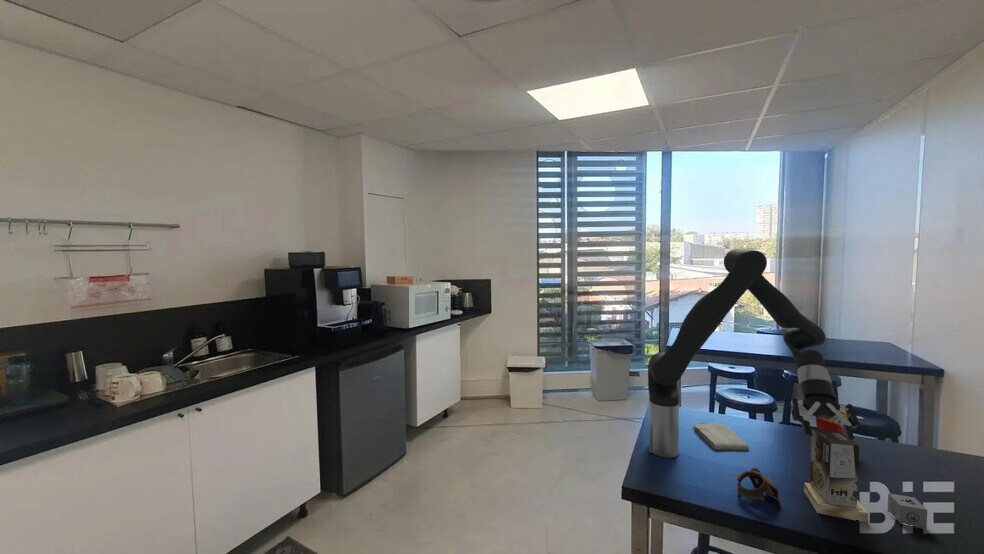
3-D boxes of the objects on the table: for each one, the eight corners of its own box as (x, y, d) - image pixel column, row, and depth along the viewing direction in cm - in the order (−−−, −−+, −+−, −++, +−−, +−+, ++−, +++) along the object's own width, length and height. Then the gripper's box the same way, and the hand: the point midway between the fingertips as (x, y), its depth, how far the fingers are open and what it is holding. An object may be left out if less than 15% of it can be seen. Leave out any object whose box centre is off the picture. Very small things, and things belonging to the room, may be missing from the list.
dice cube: (926, 529, 94) (927, 509, 94) (899, 524, 96) (900, 505, 95) (913, 516, 99) (914, 497, 98) (887, 511, 100) (888, 493, 100)
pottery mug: (789, 516, 100) (774, 490, 100) (749, 520, 105) (734, 496, 104) (776, 480, 111) (763, 456, 110) (740, 485, 115) (727, 463, 115)
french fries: (813, 444, 135) (814, 402, 134) (830, 441, 137) (832, 399, 136) (842, 457, 127) (844, 412, 126) (860, 453, 129) (862, 409, 128)
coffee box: (858, 508, 98) (861, 445, 97) (828, 504, 100) (830, 443, 99) (836, 486, 107) (838, 429, 106) (808, 483, 108) (810, 427, 107)
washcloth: (722, 428, 150) (722, 420, 150) (750, 452, 132) (751, 443, 132) (690, 428, 150) (690, 420, 150) (715, 452, 132) (715, 443, 132)
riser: (817, 513, 100) (817, 503, 100) (803, 490, 110) (804, 481, 109) (867, 522, 96) (868, 512, 96) (849, 499, 106) (849, 489, 105)
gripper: (789, 375, 116) (800, 429, 106) (850, 380, 110) (868, 438, 100) (783, 386, 121) (793, 439, 111) (841, 392, 115) (858, 448, 105)
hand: (829, 438), depth 106 cm, fingers open, 8 cm apart
